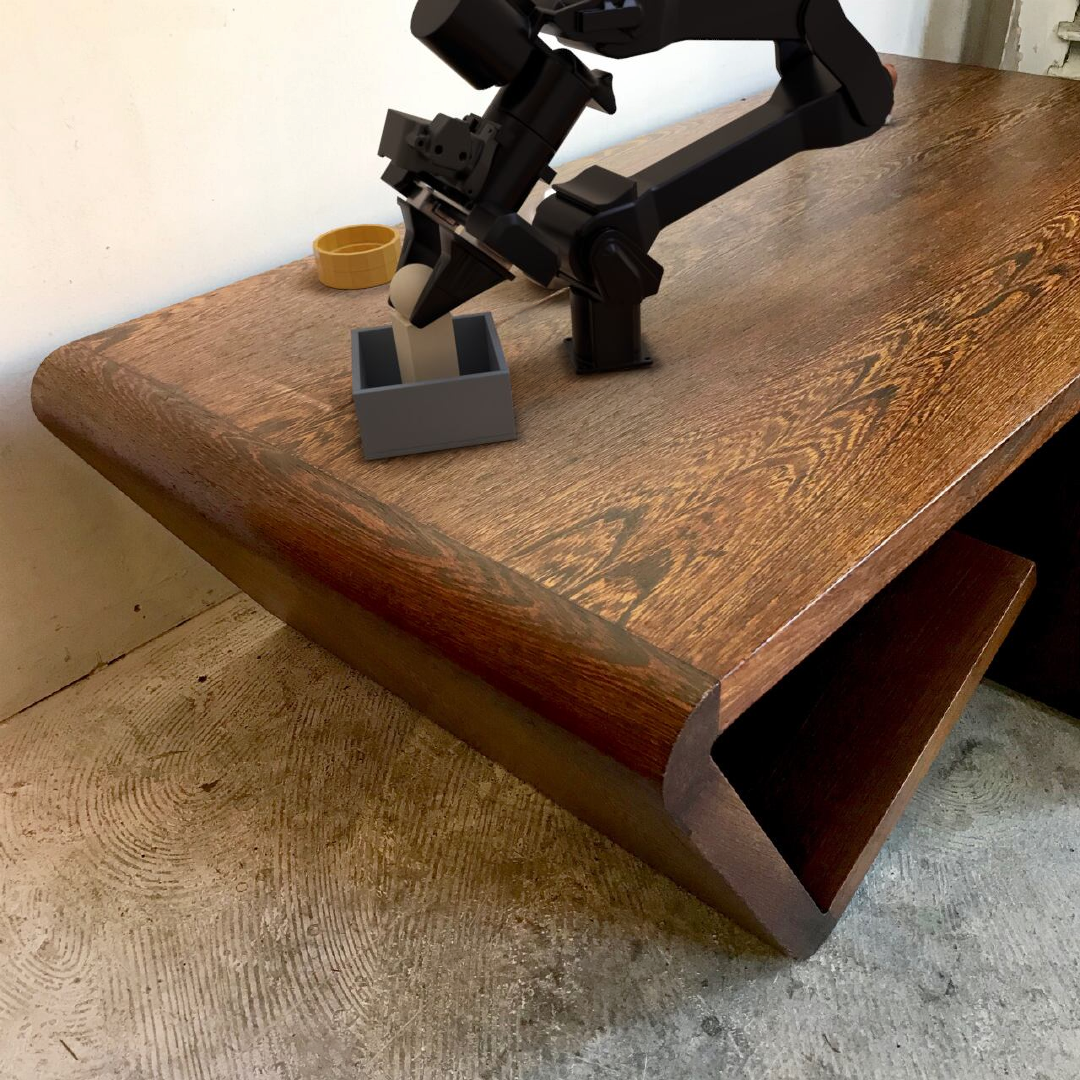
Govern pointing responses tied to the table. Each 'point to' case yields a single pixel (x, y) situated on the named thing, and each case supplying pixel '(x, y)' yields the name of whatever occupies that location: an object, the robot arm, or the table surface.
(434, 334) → the ball-topped square peg
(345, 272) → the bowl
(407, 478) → the table surface
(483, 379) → the bin
